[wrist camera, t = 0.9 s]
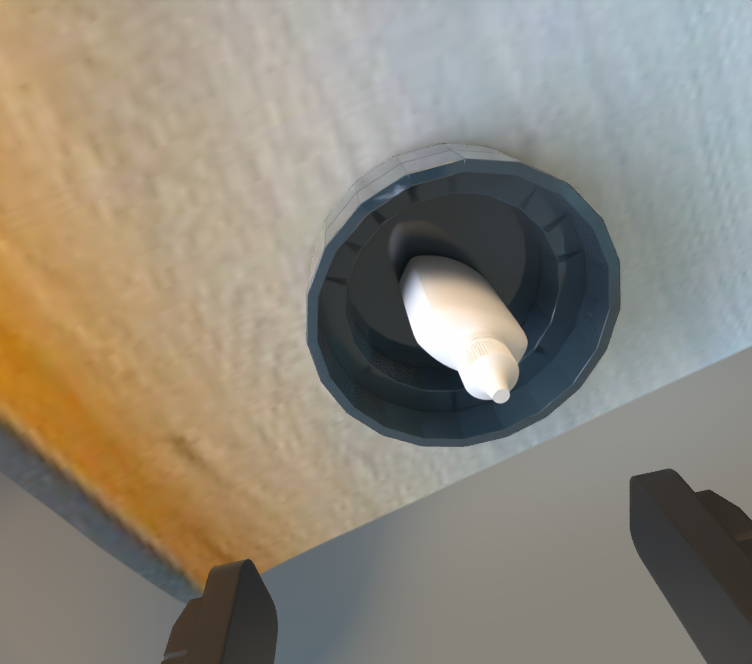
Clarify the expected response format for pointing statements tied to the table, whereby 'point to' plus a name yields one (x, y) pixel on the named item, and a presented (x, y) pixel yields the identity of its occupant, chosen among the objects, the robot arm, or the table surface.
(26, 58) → the table surface
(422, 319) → the eye dropper bottle
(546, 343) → the bowl
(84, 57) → the table surface
